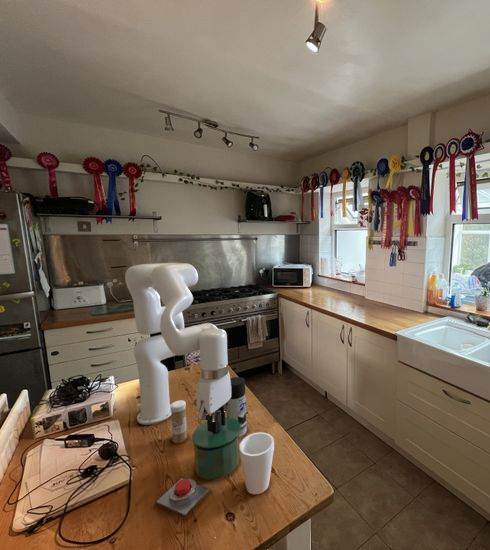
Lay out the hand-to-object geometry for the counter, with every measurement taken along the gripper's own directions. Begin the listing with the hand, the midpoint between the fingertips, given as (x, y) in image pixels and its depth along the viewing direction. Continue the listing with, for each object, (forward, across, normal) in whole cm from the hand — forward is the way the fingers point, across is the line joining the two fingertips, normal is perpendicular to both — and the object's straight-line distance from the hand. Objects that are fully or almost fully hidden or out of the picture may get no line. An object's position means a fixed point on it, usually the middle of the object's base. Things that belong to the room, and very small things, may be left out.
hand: (216, 427), depth 89 cm
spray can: (+13, -14, -4) cm, 19 cm away
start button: (+10, +13, 0) cm, 16 cm away
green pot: (+12, 0, 0) cm, 12 cm away
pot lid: (+2, 0, 0) cm, 2 cm away
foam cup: (+13, +2, +16) cm, 20 cm away
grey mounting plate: (+12, +13, 0) cm, 18 cm away
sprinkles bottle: (+13, -4, -20) cm, 24 cm away
